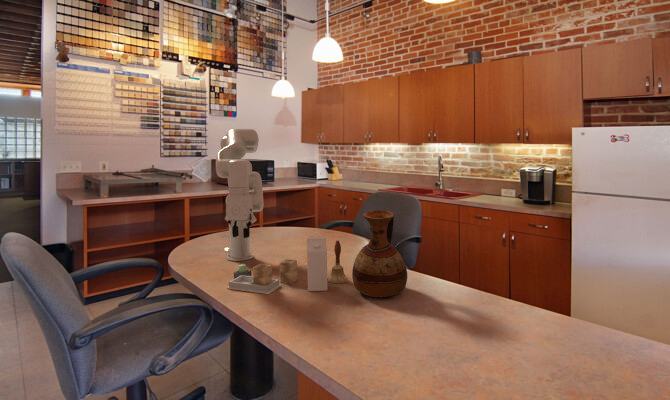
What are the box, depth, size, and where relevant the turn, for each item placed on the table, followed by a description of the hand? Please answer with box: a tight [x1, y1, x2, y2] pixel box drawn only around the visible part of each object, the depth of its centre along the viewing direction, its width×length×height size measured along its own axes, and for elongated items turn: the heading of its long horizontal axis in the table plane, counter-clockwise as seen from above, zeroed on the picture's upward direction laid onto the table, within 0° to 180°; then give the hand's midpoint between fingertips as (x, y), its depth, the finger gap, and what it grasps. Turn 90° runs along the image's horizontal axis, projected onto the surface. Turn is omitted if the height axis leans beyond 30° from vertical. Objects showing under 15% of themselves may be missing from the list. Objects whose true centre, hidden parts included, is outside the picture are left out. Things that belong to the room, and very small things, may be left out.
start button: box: [238, 263, 247, 273], centre depth 159 cm, size 3×3×4 cm
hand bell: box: [327, 240, 349, 284], centre depth 156 cm, size 8×8×16 cm
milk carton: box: [306, 237, 328, 292], centre depth 147 cm, size 7×7×19 cm
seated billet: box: [252, 263, 273, 286], centre depth 148 cm, size 5×5×8 cm
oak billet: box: [279, 258, 298, 284], centre depth 156 cm, size 5×5×8 cm
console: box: [233, 269, 253, 279], centre depth 160 cm, size 5×5×3 cm
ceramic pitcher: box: [351, 209, 408, 298], centre depth 141 cm, size 20×20×30 cm
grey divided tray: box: [226, 275, 282, 295], centre depth 149 cm, size 18×9×3 cm, turn 69°
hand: (241, 236), depth 158 cm, fingers open, 4 cm apart
